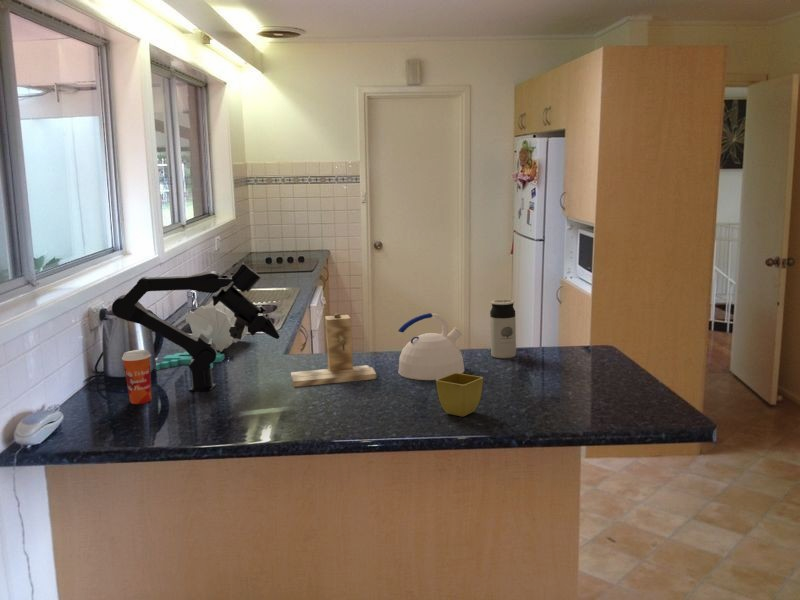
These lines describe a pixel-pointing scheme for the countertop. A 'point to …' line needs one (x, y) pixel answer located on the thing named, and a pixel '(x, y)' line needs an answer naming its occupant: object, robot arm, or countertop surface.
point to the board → (332, 376)
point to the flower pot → (459, 393)
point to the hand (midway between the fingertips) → (278, 337)
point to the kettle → (431, 353)
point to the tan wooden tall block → (339, 342)
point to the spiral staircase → (214, 324)
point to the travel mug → (503, 329)
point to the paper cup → (138, 375)
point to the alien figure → (182, 360)
